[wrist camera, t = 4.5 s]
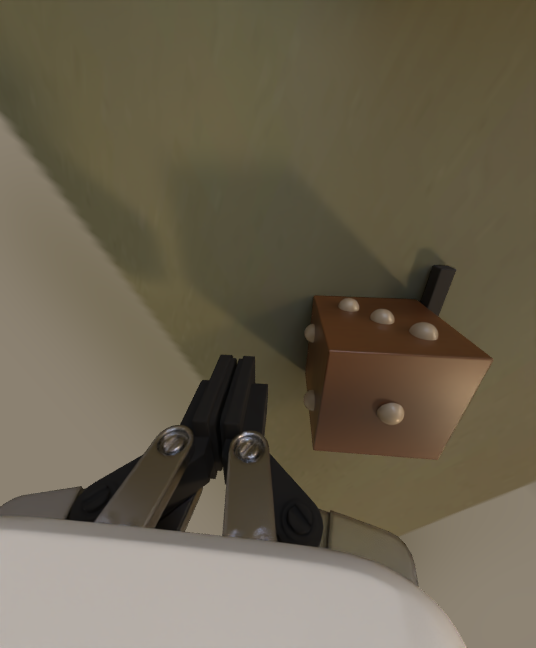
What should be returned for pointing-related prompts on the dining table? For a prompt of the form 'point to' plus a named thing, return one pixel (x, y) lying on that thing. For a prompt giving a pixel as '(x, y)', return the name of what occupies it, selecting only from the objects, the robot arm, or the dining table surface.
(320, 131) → the dining table surface
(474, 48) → the dining table surface
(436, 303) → the stop strip
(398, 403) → the die
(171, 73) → the dining table surface
